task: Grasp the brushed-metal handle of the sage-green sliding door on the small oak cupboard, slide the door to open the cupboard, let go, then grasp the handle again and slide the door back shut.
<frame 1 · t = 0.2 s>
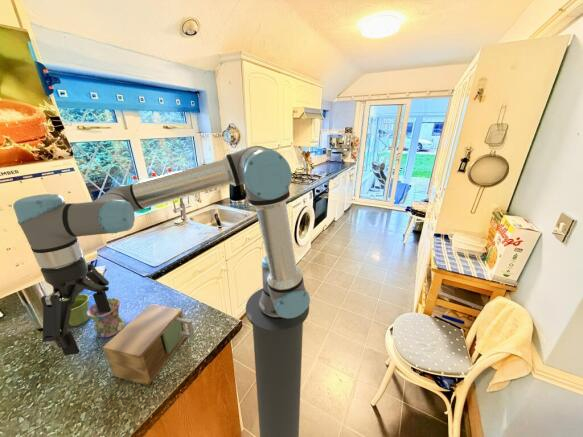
hand: (90, 330, 62), 20 cm above the worktop, tool pointing down, fingers open, 13 cm apart
plant pot: (80, 320, 90), on the worktop
mug: (110, 333, 85), on the worktop
sliding door: (180, 335, 77), point 6 cm above the worktop, slide at 0.0 cm
cupboard: (153, 353, 77), on the worktop
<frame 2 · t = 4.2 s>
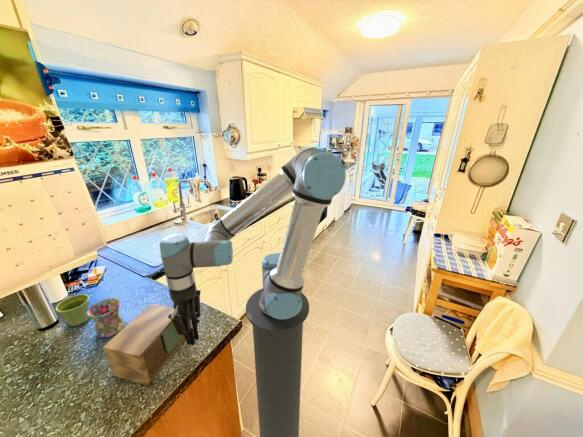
hand: (193, 340, 80), 2 cm above the worktop, tool pointing down, fingers closed on sliding door, 1 cm apart
sliding door: (180, 335, 77), point 6 cm above the worktop, slide at 0.0 cm, touching gripper
everything else where it was.
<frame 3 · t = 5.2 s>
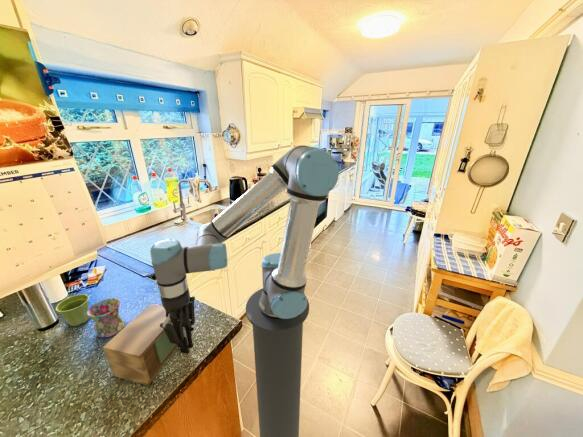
hand: (187, 349, 77), 2 cm above the worktop, tool pointing down, fingers closed on sliding door, 1 cm apart
sliding door: (173, 343, 74), point 6 cm above the worktop, slide at 3.3 cm, touching gripper
everything else where it was.
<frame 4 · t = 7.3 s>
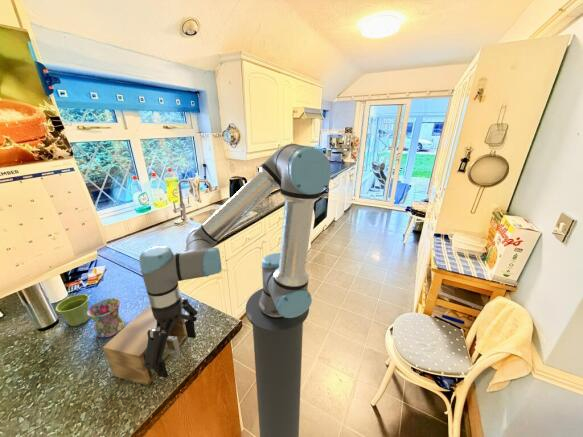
hand: (178, 354, 73), 4 cm above the worktop, tool pointing down, fingers open, 13 cm apart
sliding door: (165, 354, 71), point 6 cm above the worktop, slide at 7.1 cm
everything else where it was.
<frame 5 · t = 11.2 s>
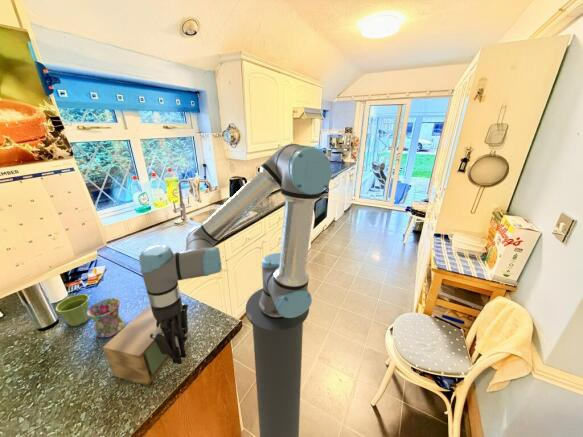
hand: (179, 359, 74), 2 cm above the worktop, tool pointing down, fingers closed on sliding door, 1 cm apart
sliding door: (165, 353, 71), point 6 cm above the worktop, slide at 7.0 cm, touching gripper
everything else where it was.
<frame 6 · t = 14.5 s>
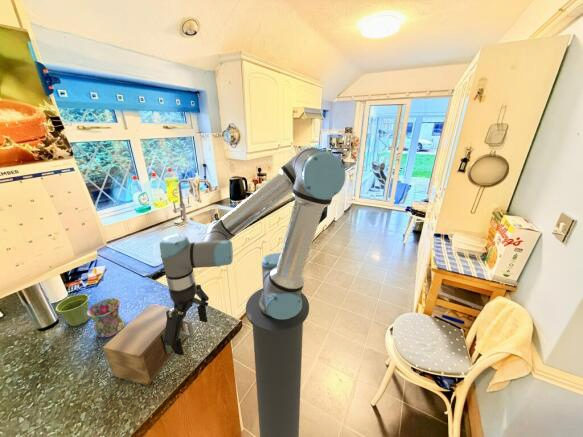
hand: (192, 336, 79), 4 cm above the worktop, tool pointing down, fingers open, 13 cm apart
sliding door: (180, 335, 77), point 6 cm above the worktop, slide at 0.1 cm
everything else where it was.
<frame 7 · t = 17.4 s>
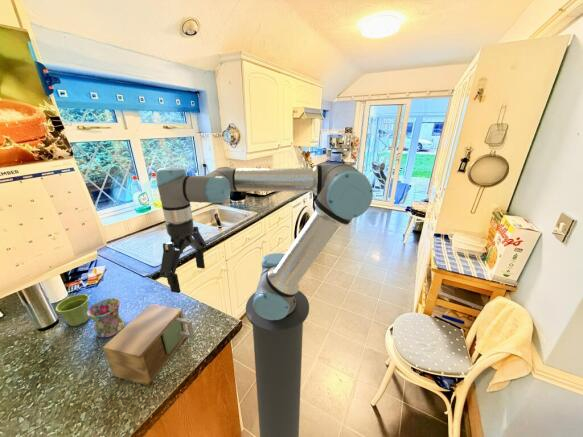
hand: (189, 278, 78), 23 cm above the worktop, tool pointing down, fingers open, 13 cm apart
nothing on the worktop moved.
at the end: sliding door pulled out 7.1 cm at the most during the clip, back to where it started at the end; sliding door slide at 0.1 cm; the gripper is holding nothing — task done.
